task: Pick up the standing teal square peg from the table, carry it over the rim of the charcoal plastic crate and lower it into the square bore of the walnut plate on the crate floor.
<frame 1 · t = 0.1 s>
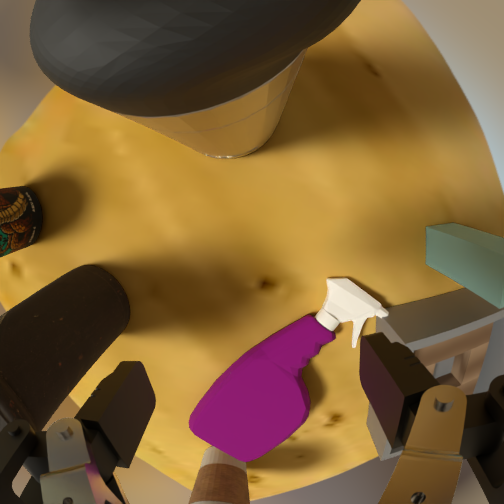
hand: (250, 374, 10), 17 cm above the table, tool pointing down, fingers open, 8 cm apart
peg: (440, 243, 26), on the table
coffee cup: (224, 455, 34), on the table
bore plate: (444, 368, 27), in the crate, point 2 cm above the table
spray bottle: (283, 373, 29), on the table, touching crate
crate: (434, 357, 29), on the table
container: (98, 300, 28), on the table
beverage can: (27, 215, 26), on the table
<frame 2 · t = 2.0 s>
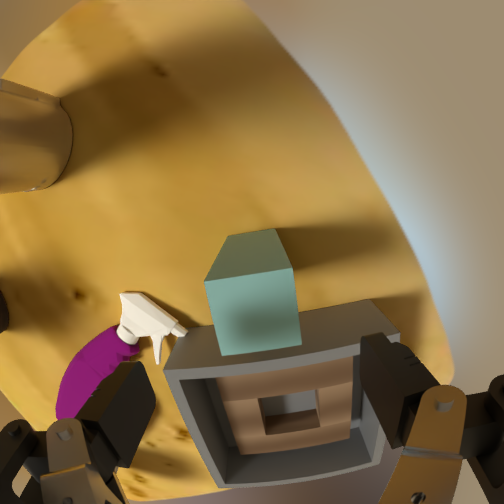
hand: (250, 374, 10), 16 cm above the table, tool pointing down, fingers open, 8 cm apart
peg: (255, 255, 25), on the table
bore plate: (289, 404, 26), in the crate, point 2 cm above the table
spray bottle: (114, 379, 28), on the table, touching crate
crate: (287, 389, 28), on the table
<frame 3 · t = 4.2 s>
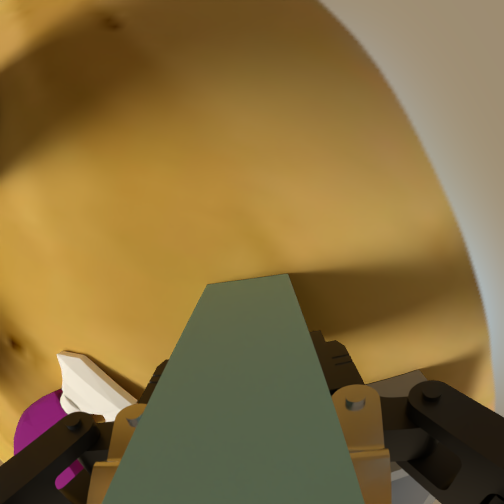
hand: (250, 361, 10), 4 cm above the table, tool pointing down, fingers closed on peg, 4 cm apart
peg: (253, 316, 15), on the table, touching gripper
spray bottle: (71, 443, 18), on the table, touching crate
crate: (293, 475, 18), on the table
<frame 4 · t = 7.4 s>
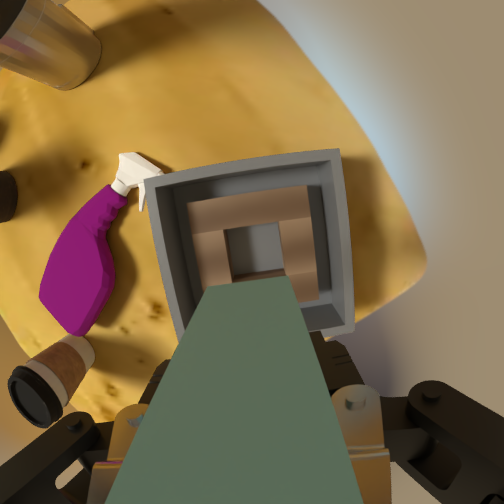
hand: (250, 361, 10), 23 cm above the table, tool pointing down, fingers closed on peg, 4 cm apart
peg: (253, 318, 15), point 19 cm above the table, touching gripper
coffee cup: (80, 349, 37), on the table
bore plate: (255, 250, 31), in the crate, point 2 cm above the table
spray bottle: (100, 244, 33), on the table, touching crate
crate: (255, 245, 33), on the table
container: (4, 196, 32), on the table
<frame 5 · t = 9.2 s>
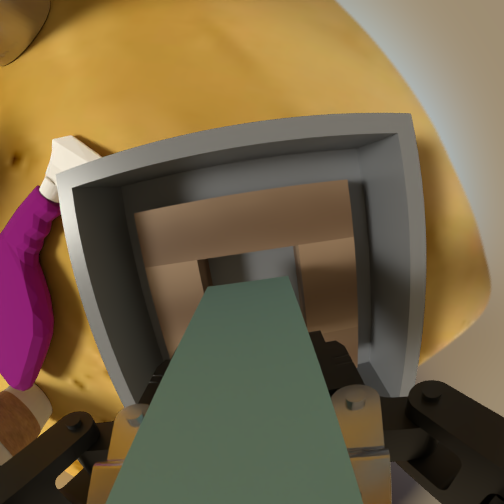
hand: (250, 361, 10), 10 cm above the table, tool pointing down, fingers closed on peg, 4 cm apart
peg: (253, 318, 15), point 6 cm above the table, touching gripper
coffee cup: (35, 396, 24), on the table
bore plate: (254, 291, 18), in the crate, point 2 cm above the table
spray bottle: (35, 271, 20), on the table, touching crate
crate: (255, 279, 20), on the table
when the fingers open (7 cm above the table, at t = 10.9 s): peg drops 1 cm, resting on crate.
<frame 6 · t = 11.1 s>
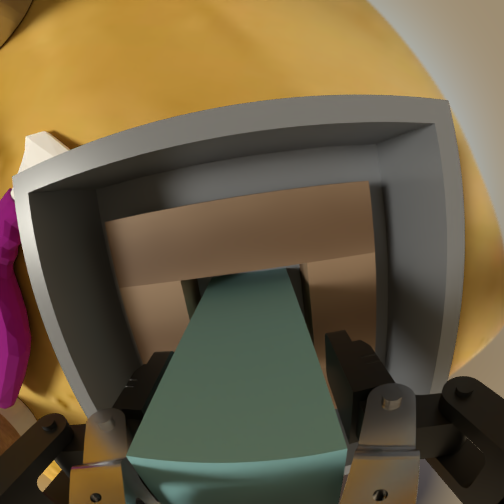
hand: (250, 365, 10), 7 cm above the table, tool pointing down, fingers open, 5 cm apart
peg: (253, 306, 16), point 1 cm above the table, touching crate
coffee cup: (20, 411, 21), on the table
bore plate: (252, 316, 15), in the crate, point 2 cm above the table
spray bottle: (11, 283, 17), on the table, touching crate
crate: (253, 299, 17), on the table
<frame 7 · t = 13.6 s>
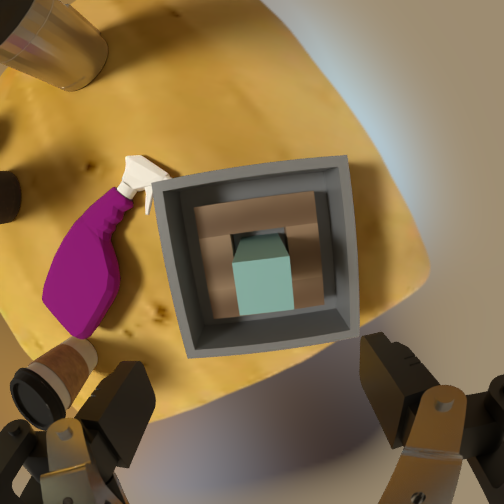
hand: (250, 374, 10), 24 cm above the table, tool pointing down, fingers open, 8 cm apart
peg: (261, 252, 32), point 1 cm above the table, touching crate
coffee cup: (83, 351, 37), on the table
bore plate: (261, 254, 31), in the crate, point 2 cm above the table
spray bottle: (105, 247, 33), on the table, touching crate
crate: (261, 250, 33), on the table
container: (7, 196, 32), on the table
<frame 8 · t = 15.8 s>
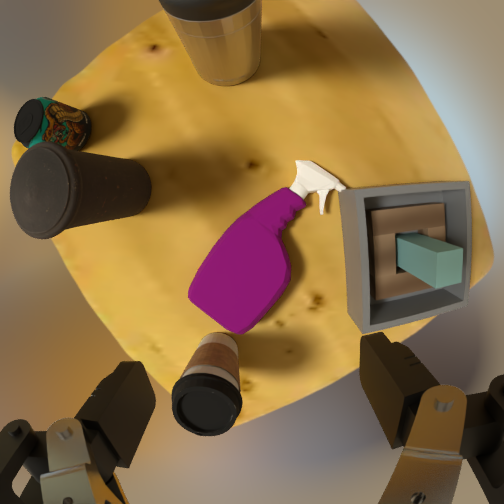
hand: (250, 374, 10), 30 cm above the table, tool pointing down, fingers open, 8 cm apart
peg: (403, 247, 38), point 1 cm above the table, touching crate
coffee cup: (218, 348, 43), on the table
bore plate: (407, 248, 36), in the crate, point 2 cm above the table
spray bottle: (268, 243, 39), on the table, touching crate
crate: (400, 245, 39), on the table
container: (126, 187, 38), on the table
beverage can: (76, 132, 36), on the table
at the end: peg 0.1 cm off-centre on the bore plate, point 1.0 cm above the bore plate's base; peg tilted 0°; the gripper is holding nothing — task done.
